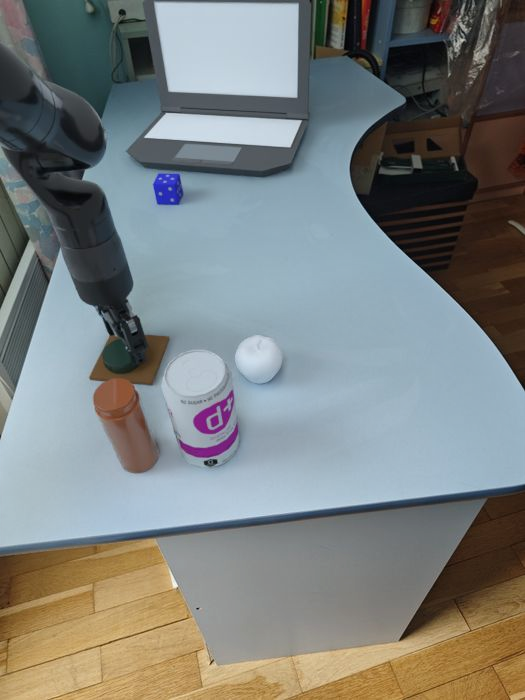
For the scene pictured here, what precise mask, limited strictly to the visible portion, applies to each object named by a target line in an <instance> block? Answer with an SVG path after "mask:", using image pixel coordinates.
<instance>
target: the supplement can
mask: <svg viewBox="0 0 525 700" xmlns="http://www.w3.org/2000/svg"><path fill="white" fill-rule="evenodd" d="M160 388H161V389H160V390H161V392H162V396H163V398H164V402H165V405H166V409H167V412H168V416H169V418H170V423H171V425H172V428H173V432H174V435H175V438H176V442H177V445H178V448H179V451H180V454H181V456H182V457H183V458H184V459H185V461H187V462H188V463H189V464H191V465H193V466H195V467H198V468H209V469H210V468H214V467H218V466H221V465H224V464H225V463H226V462H228V461H230V460H231V459H232V458H233V456H234V455H235V454H236V453H237V452H238V449H239V446H240V443H241V440H240V429H239V422H238V420H239V419H238V413H237V406H236V405H237V404H236V398H235V391H234V383H233V374H232V371H231V370H230V367H229V366H228V364H227V363H226V362H225V361H224V360H223V359H222V358H221V357H220V356H219V355H217V354H216V353H215V352H214V351H210V350H207V349H191V350H187V351H184V352H182V353H180V354H177V355H176V356H175V357H173V358H172V359H171V360H170V361H169V362H168V364H167V365H166V367H165V369H164V374H163V376H162V378H161V387H160Z"/></svg>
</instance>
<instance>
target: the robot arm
mask: <svg viewBox="0 0 525 700" xmlns="http://www.w3.org/2000/svg"><path fill="white" fill-rule="evenodd" d="M107 143H108V142H107V132H106V129H105V126H104V124H103V121H102V119H101V117H100V115H99V114H98V112H97V111H96V109H95V108H94V107H93V106H92V105H91V104H90V102H88V101H87V100H86V99H85V98H84V97H82V96H81V95H79V94H78V93H76V92H74V91H72V90H71V89H68V88H65V87H63V86H61V85H58V84H56V83H54V82H51V81H47V80H45V79H43V78H42V77H41V76H40V75H39V74H38V73H37V72H36V71H35V70H34V69H33V68H32V67H31V66H30V65H29V64H28V63H27V62H26V61H25V60H24V59H22V57H21V56H19V55H18V54H17V53H16V52H15V51H14V50H12V49H11V48H10V47H9V46H7V44H5V43H4V42H2V40H0V148H1V150H2V153H3V155H4V156H5V158H6V160H7V162H8V163H9V164H10V166H11V167H12V168H13V170H14V171H15V173H16V174H17V175H18V176H19V178H20V179H21V180H22V182H23V183H24V184H25V185H26V187H27V188H28V189H29V190H30V191H31V193H32V194H33V195H34V197H35V199H36V200H37V201H38V202H39V204H40V205H41V206H42V208H43V209H44V211H45V212H46V214H47V215H48V218H49V221H50V223H51V226H52V228H53V230H54V233H55V236H56V239H57V240H58V243H59V246H60V250H61V251H60V252H61V254H62V258H63V261H64V263H65V265H66V268H67V271H68V273H69V276H70V278H71V280H72V282H73V285H74V287H75V290H76V292H77V295H78V297H79V299H80V300H81V301H82V302H83V303H85V304H86V305H89V306H92V307H94V309H95V311H96V312H97V315H98V316H99V317H100V318H101V320H102V323H103V324H104V327H105V330H106V332H107V334H108V335H109V336H112V335H115V336H116V337H117V338H121V340H122V342H123V344H124V345H125V349H126V350H127V352H128V355H129V358H130V360H131V363H132V365H133V366H134V367H137V366H139V365H141V364H143V363H144V362H146V360H147V358H146V355H145V352H144V350H146V349H148V348H149V345H148V343H147V340H146V337H145V335H146V334H145V332H144V329H143V326H142V323H141V318H140V317H139V316H138V315H137V314H135V315H134V313H133V311H132V310H133V307H132V305H131V302H130V301H129V299H128V297H129V295H130V294H131V292H132V291H133V289H134V278H133V275H132V272H131V268H130V266H129V262H128V258H127V255H126V252H125V249H124V248H125V247H124V245H123V242H122V239H121V236H120V235H119V233H118V231H117V228H116V224H115V221H114V219H113V215H112V211H111V207H110V205H109V201H108V198H107V195H106V194H105V191H104V190H103V188H102V187H101V186H100V185H99V184H97V183H96V182H94V181H93V182H92V181H90V180H84V179H78V178H74V177H69V176H67V175H65V174H63V173H64V172H74V171H75V172H76V171H85V170H86V171H87V170H89V169H92V168H95V167H96V166H97V165H99V164H100V163H101V161H102V160H103V159H104V156H105V154H106V151H107Z"/></svg>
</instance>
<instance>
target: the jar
mask: <svg viewBox="0 0 525 700" xmlns="http://www.w3.org/2000/svg"><path fill="white" fill-rule="evenodd" d="M134 385H135V384H132V383H131V382H130V381H129V380H126V379H123V378H114V379H110V380H108V381H103V382H102V383H101V384H99V385H98V386H97V387H96V389H95V390H94V393H93V396H92V402H93V406H94V412H95V414H96V416H97V418H98V420H99V422H100V425H101V426H102V429H103V431H104V433H105V434H106V437H107V438H108V441H109V443H110V446H111V447H112V449H113V451H114V453H115V455H116V457H117V459H118V461H119V463H120V466H121V467H122V469H124V470H125V471H127V472H128V473H131V474H141V473H145V472H147V471H149V470H150V469H151V468H153V467H154V466H155V465H156V464H157V462H158V460H159V457H160V449H159V446H158V443H157V439H156V438H155V435H154V432H153V429H152V427H151V424H150V421H149V418H148V416H147V413H146V410H145V407H144V405H143V402H142V399H141V397H140V394H139V392H138V391H137V389H136V388H135V386H134Z"/></svg>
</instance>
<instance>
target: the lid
mask: <svg viewBox="0 0 525 700" xmlns="http://www.w3.org/2000/svg"><path fill="white" fill-rule="evenodd" d="M103 348H104V347H103ZM102 350H103V349H102ZM101 352H102V351H101ZM102 359H103V362H104V365H105V367H106V368H107V370H109V371H110V372H112V373H115V374H124V373H128V372H131V371H133V370H134V369H136V368H137V367H138V366H137V367H134V366H133V365H132V363H131V360H130V358H129V355H128V352H127V350H126V349H125V345H124V344H123V342H122V340H121V339H117V340H114V341H112V342H110V343H109V344H108V345H107V346H106V347H105V348H104V350H103V352H102Z"/></svg>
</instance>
